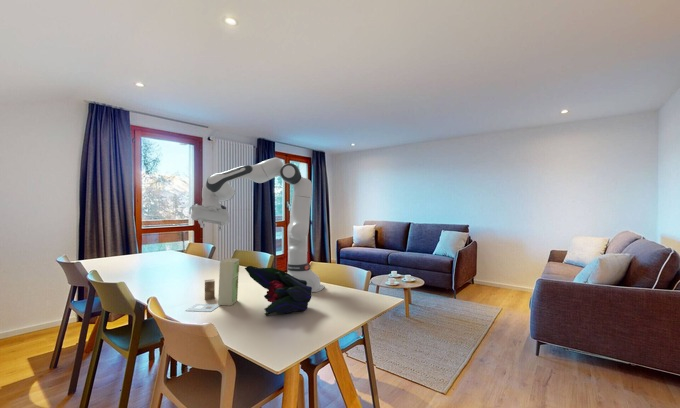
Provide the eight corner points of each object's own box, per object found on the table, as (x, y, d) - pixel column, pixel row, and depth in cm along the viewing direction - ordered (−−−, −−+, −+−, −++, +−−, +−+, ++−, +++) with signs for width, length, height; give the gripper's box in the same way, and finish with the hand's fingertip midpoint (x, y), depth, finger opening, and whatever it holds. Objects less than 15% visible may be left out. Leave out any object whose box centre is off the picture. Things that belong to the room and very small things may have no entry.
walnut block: (214, 296, 155) (214, 279, 155) (214, 298, 151) (214, 281, 151) (204, 297, 153) (204, 280, 153) (204, 300, 149) (204, 282, 149)
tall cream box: (233, 305, 141) (234, 261, 141) (217, 305, 141) (219, 261, 141) (239, 300, 149) (240, 258, 149) (224, 299, 149) (226, 258, 149)
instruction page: (220, 305, 142) (220, 304, 142) (211, 311, 133) (211, 311, 133) (196, 304, 143) (196, 303, 143) (185, 310, 134) (185, 310, 134)
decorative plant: (303, 335, 130) (233, 327, 120) (296, 296, 153) (237, 286, 142) (320, 298, 125) (248, 286, 114) (310, 263, 148) (250, 250, 137)
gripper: (194, 200, 158) (194, 222, 151) (230, 208, 172) (231, 228, 165) (189, 206, 161) (188, 228, 154) (225, 213, 176) (226, 234, 168)
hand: (211, 228), depth 160 cm, fingers open, 8 cm apart
